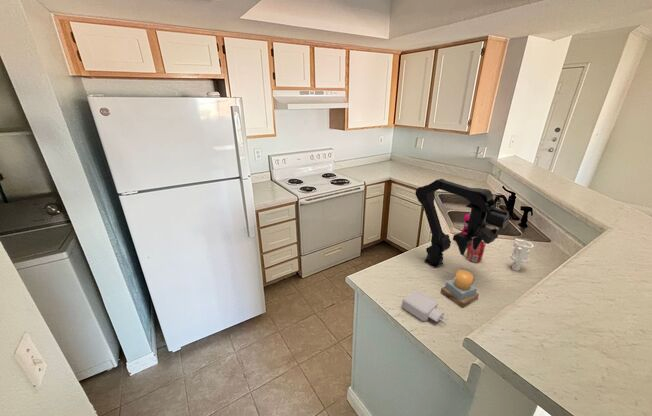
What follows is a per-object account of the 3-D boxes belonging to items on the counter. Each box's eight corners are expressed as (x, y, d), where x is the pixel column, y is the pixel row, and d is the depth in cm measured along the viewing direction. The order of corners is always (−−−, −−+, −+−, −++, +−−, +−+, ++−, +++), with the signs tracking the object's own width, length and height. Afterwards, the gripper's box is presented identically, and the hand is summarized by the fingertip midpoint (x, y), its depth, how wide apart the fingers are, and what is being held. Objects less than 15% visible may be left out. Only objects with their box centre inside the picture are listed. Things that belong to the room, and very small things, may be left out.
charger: (438, 332, 91) (401, 308, 102) (450, 319, 97) (414, 297, 107) (440, 322, 90) (402, 298, 100) (453, 309, 95) (416, 288, 106)
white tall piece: (507, 262, 131) (515, 235, 125) (524, 267, 127) (534, 240, 121) (506, 269, 126) (515, 241, 120) (524, 275, 122) (534, 246, 116)
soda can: (476, 255, 137) (481, 234, 132) (484, 263, 130) (490, 241, 126) (462, 255, 137) (467, 234, 132) (469, 263, 130) (475, 241, 125)
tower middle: (444, 287, 109) (446, 281, 108) (459, 282, 112) (460, 276, 111) (460, 300, 103) (462, 293, 101) (475, 294, 106) (477, 288, 104)
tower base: (440, 293, 110) (441, 288, 109) (455, 286, 115) (456, 280, 114) (462, 309, 102) (463, 303, 101) (477, 300, 107) (479, 294, 106)
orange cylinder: (450, 283, 107) (453, 273, 104) (459, 277, 110) (462, 267, 107) (465, 292, 102) (468, 282, 100) (473, 285, 105) (476, 276, 103)
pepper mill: (458, 240, 151) (465, 208, 143) (472, 244, 147) (480, 211, 140) (455, 245, 146) (462, 212, 138) (469, 249, 142) (478, 215, 134)
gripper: (482, 232, 98) (473, 267, 104) (509, 222, 107) (499, 255, 113) (455, 221, 107) (448, 254, 113) (482, 212, 116) (474, 243, 122)
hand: (468, 252), depth 115 cm, fingers open, 9 cm apart
